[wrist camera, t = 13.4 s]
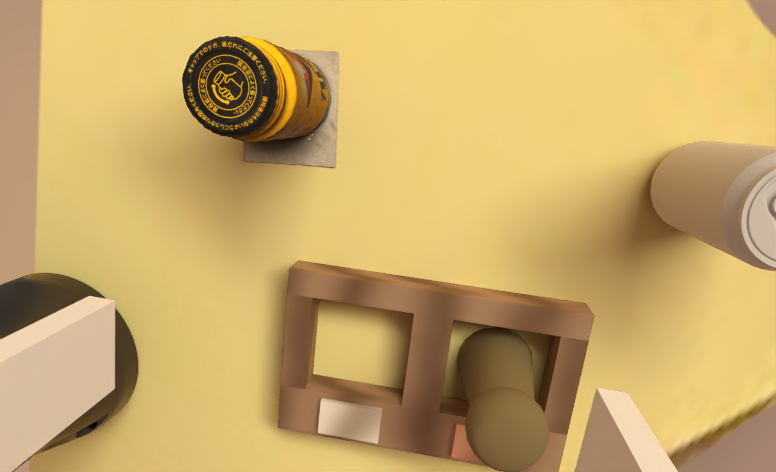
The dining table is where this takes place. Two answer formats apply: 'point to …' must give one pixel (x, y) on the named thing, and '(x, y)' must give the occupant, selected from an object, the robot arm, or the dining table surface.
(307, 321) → the caddy
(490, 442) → the cork
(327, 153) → the condiment
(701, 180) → the beverage can
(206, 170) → the dining table surface
